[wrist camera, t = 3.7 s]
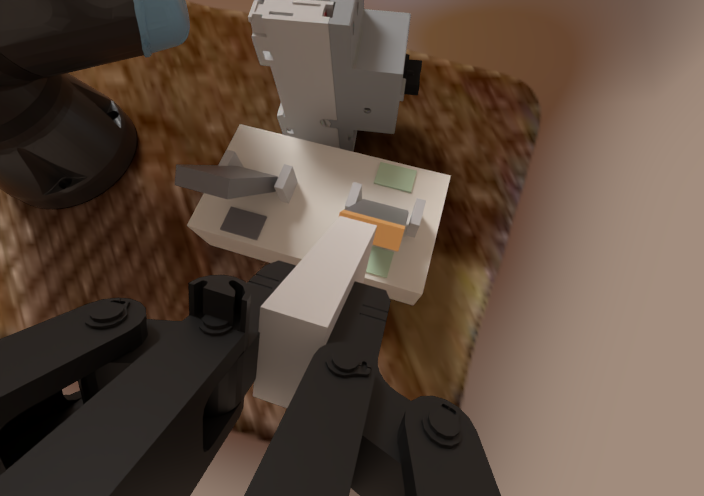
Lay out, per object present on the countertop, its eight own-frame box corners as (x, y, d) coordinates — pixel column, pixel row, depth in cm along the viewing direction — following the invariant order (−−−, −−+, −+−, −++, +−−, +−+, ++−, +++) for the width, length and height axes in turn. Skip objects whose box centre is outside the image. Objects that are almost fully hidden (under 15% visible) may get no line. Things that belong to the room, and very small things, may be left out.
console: (210, 245, 35) (171, 212, 27) (254, 154, 38) (230, 105, 31) (413, 305, 32) (428, 287, 25) (438, 200, 36) (458, 159, 29)
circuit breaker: (405, 157, 38) (432, 32, 24) (286, 143, 39) (244, 16, 25) (411, 107, 40) (438, -33, 26) (299, 95, 41) (268, -45, 27)
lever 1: (240, 180, 31) (173, 184, 23) (242, 165, 31) (175, 164, 22) (281, 191, 31) (228, 199, 22) (283, 176, 30) (231, 179, 22)
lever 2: (360, 212, 30) (333, 233, 20) (364, 197, 29) (338, 211, 20) (405, 224, 29) (399, 252, 19) (409, 209, 29) (406, 229, 19)
